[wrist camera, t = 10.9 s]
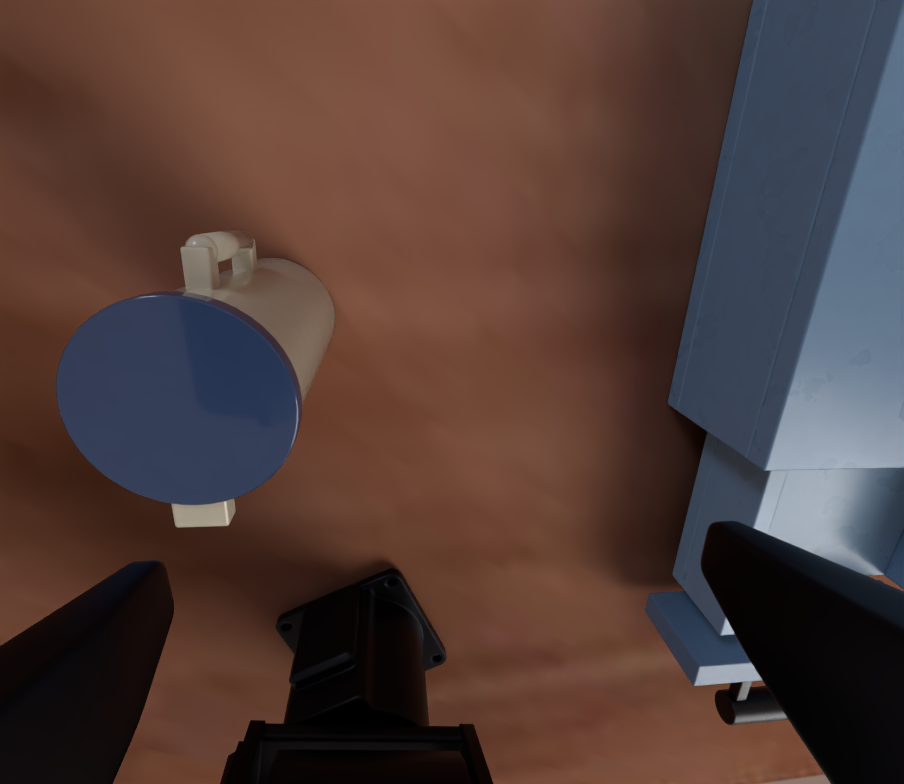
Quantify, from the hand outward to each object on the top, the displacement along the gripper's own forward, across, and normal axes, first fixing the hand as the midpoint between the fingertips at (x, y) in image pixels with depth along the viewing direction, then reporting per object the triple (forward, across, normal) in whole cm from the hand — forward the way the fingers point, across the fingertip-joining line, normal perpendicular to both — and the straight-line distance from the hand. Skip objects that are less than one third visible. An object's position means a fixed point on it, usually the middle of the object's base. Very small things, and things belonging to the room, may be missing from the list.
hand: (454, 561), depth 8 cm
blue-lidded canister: (+13, +5, -2) cm, 14 cm away
